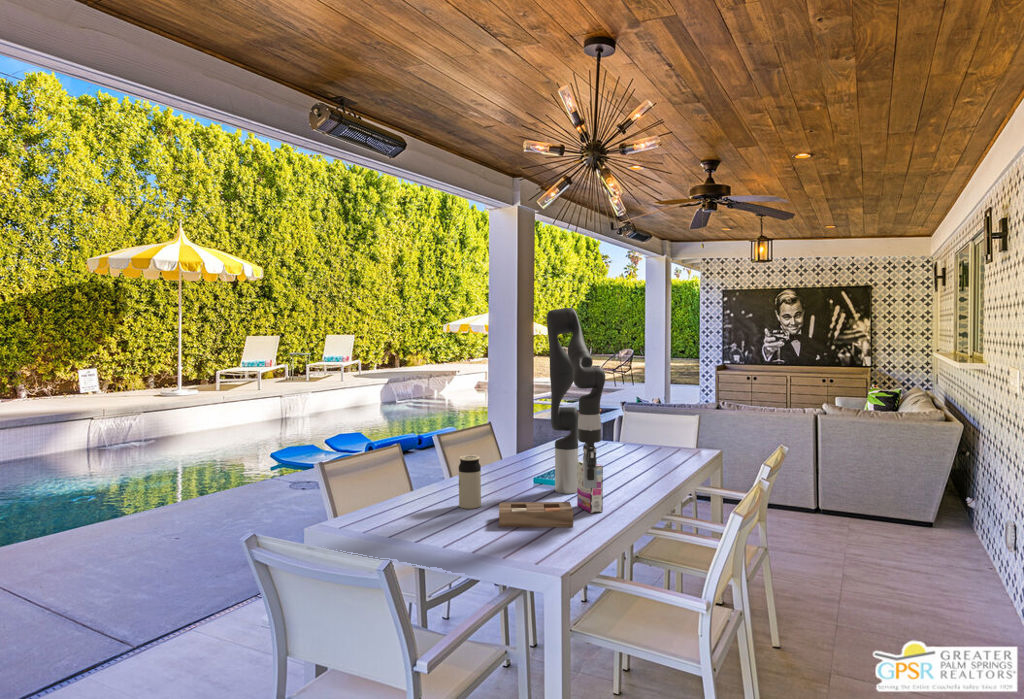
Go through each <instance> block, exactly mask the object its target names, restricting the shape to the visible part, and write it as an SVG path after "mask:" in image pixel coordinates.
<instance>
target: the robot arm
mask: <svg viewBox="0 0 1024 699" xmlns="http://www.w3.org/2000/svg"><path fill="white" fill-rule="evenodd" d="M546 326H547V327H546V328H547V338H548V339H547V340H548V348H549V380H550V381H549V382H550V396H551V398H550V399H551V400H550V401H551V402H550V404H551V405H550V424H551V428H552V430H554V431H561V432H565V431H566V432H567V431H569V433H568V435H565V436H564V437H561V438H558V439H556V440H555V441H554V487H555V488H554V491H555V492H556V493H558V494H565V495H566V494H567V495H568V494H575V493H577V462H578V461H579V442H580V443H582V444H583V447H582V450H583V456H585V461H586V462H587V479H588V480H594V469H595V467H596V466H595V465H596V458H597V447H596V446H595V443H596V444H597V443H600V442H601V440H602V421H601V420H602V418H601V398H602V394H603V389H604V387H605V383H606V373H605V370H604V369H603V368H602V367H599V366H593V363H594V362H593V358H592V355H591V354H590V351H589V349H588V347H587V344H586V342H585V338H584V335H583V334H584V333H583V330H582V326H581V324H580V319H579V317H578V314H577V311H576V310H575V308H572V307H564V308H558V309H551V310H548V312H547V313H546ZM570 333H572V336H571V338H570V341H569V343H568V346H567V352H566V350H565V349H564V348H563V346H562V345H561V343H560V341H559V335H563V334H565V335H566V334H570ZM572 385H575V387H576V388H578V389H582V390H584V389H591V390H590V393H588V394H585V395H581V396H580V397H579V398H578V408H577V407H573V406H567V407H566V406H564V407H563V406H562V407H561V406H560V405H561V402H562V401H563V398H564V397H565V395H566V394H567V392H568V391H569V390H570V388H571V387H572ZM587 458H588V459H587ZM590 462H593V464H592V465H590Z"/></svg>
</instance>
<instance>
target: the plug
mask: <svg viewBox="0 0 1024 699" xmlns="http://www.w3.org/2000/svg"><path fill="white" fill-rule="evenodd" d="M587 459H588V458H587ZM597 460H598V459H597V457H596V465H595V466H596V467H595V469H594V480H588V479H587V462H586V461H585V456H584V455H583V456H582V461H583V486H584V488H597V464H598V463H597ZM592 464H593V462H590V465H592Z"/></svg>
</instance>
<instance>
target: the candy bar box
mask: <svg viewBox="0 0 1024 699" xmlns="http://www.w3.org/2000/svg"><path fill="white" fill-rule="evenodd" d="M603 467H604V466H603V465H601V464H598V463H597V488H584V486H583V460H581V461H579V460H578V462H577V492H576V493H577V494H576V495H577V497H576V500H577V504H576V505H577V507H578V508H581V509H582V510H584V511H586V512H588V513H590V514H597V513H599V512H600V513H603V510H604V509H603V508H604V507H603V504H604V503H603V502H604V499H603V496H604V494H603V493H604V492H603V489H604V487H603V485H604V484H603V483H604V482H603V481H604V479H603V478H604V477H603V476H604V474H603V473H604V472H603V471H604V470H603V469H604V468H603Z"/></svg>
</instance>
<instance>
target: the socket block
mask: <svg viewBox="0 0 1024 699" xmlns="http://www.w3.org/2000/svg"><path fill="white" fill-rule="evenodd" d="M498 510H499V511H498V528H499V527H519V528H573V527H574V510H573V507H572V505H571V502H570V501H539V502H538V501H535V502H533V501H532V502H530V501H529V502H528V501H526V502H523V501H522V502H512V501H511V502H499V506H498Z"/></svg>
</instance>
